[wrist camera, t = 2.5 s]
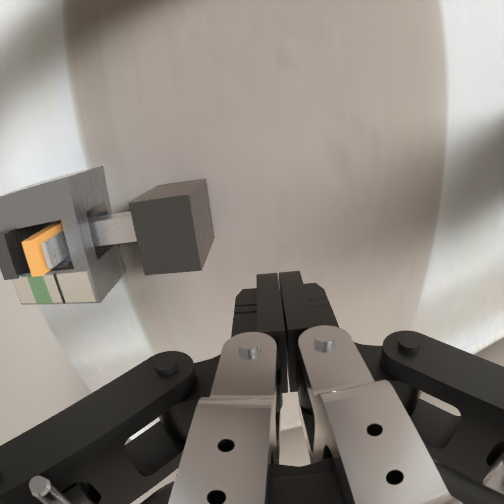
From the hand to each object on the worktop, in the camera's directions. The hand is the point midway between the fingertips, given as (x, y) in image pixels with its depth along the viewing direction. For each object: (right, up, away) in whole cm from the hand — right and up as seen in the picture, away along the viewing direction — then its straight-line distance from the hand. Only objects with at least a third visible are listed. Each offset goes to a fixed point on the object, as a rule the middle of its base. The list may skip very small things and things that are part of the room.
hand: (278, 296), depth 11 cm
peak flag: (-17, +4, +14) cm, 22 cm away
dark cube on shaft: (-10, +5, +15) cm, 18 cm away
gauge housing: (-18, +4, +15) cm, 24 cm away
